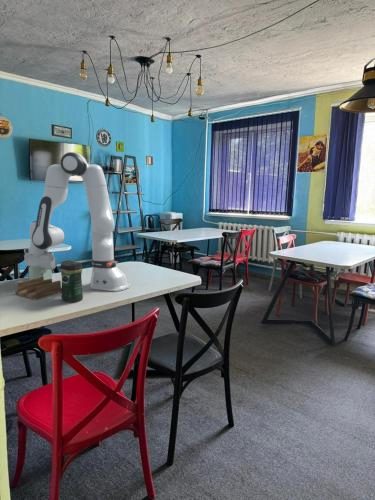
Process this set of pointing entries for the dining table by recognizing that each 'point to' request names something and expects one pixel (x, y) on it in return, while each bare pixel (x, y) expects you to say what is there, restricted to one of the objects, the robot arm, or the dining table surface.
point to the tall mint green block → (38, 273)
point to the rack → (38, 288)
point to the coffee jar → (71, 281)
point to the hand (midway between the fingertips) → (40, 275)
